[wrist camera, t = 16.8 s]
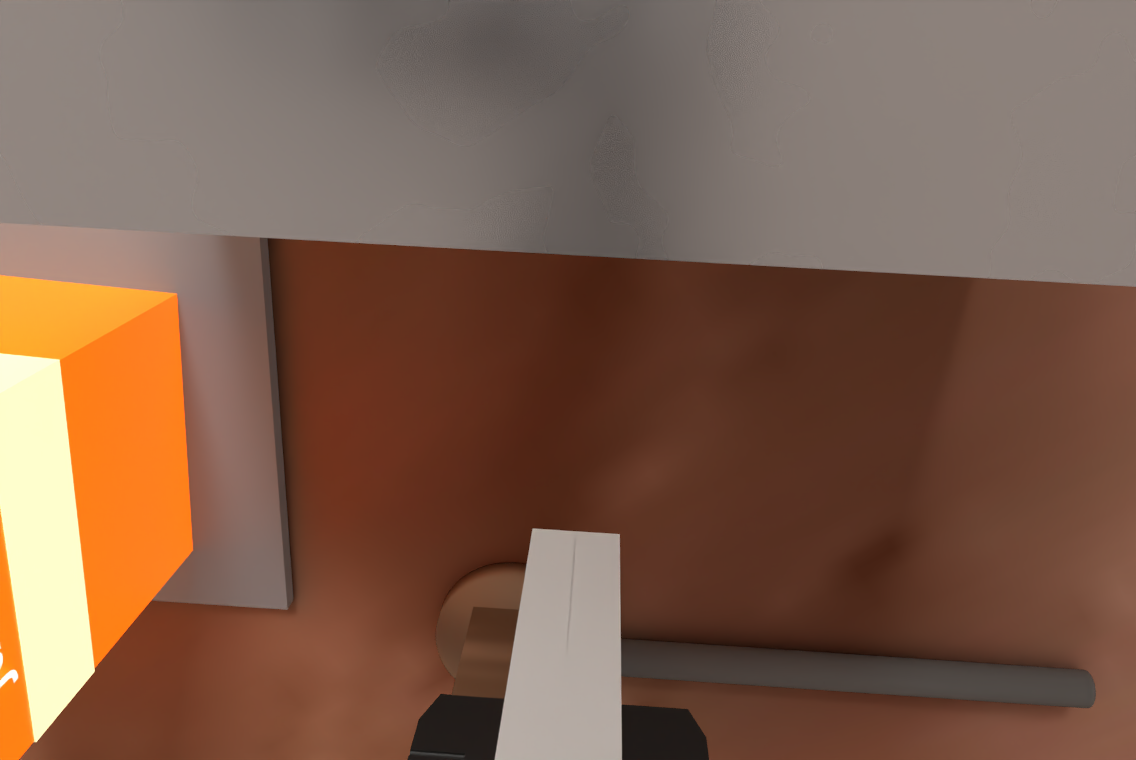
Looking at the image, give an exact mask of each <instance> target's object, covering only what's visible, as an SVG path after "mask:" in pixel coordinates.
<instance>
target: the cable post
mask: <svg viewBox="0 0 1136 760" xmlns="http://www.w3.org/2000/svg"><path fill="white" fill-rule="evenodd" d="M526 565H527V564H520V563H498V564H492V565H488V566H484V567H482V568H479V569H476V570H474V571H472V572H470V573H469V574H467V575H466V576H464V577H463V578H461V579H460V580H459V581H458V582H457V583H456V584H455V585H454V586H453V587H452V589H451V590H450V591H449V593H448V594H447V596H446V598H445V600H444V603H443V605H442V608H441V612H440V615H439V618H438V622H437V626H436V645H437V650H438V653H439V656H440V658H441V661H442V662H443V664H444V666H445V668H446V669H447V670H448V671H449V673H450V674H451V675H452V676H453V677H454V678H455V683H454V687H453V691H452V695H460V696H474V697H488V698H502V699H505V693H506V687H507V681H508V675H509V669H510V663H511V657H512V651H513V645H514V639H515V632H516V626H517V620H518V614H519V608H520V602H521V596H522V590H523V584H524V578H525V571H526Z"/></svg>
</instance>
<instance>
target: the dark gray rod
mask: <svg viewBox="0 0 1136 760" xmlns="http://www.w3.org/2000/svg"><path fill="white" fill-rule="evenodd" d="M621 676H625V677H639V678H654V679H668V680H683V681H698V682H712V683H727V684H741V685H756V686H770V687H785V688H800V689H814V690H829V691H843V692H858V693H873V694H887V695H902V696H916V697H931V698H946V699H960V700H975V701H989V702H1004V703H1019V704H1033V705H1048V706H1062V707H1077V708H1090V707H1092V705H1093V704H1094V701H1095V696H1096V690H1095V684H1094V681H1093V678H1092V676H1091V675H1090V673H1089V672H1088V671H1086V670H1079V669H1064V668H1050V667H1035V666H1020V665H1005V664H990V663H975V662H961V661H946V660H931V659H916V658H901V657H887V656H872V655H857V654H842V653H827V652H812V651H798V650H783V649H768V648H753V647H738V646H723V645H709V644H694V643H679V642H664V641H649V640H634V639H621Z"/></svg>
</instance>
